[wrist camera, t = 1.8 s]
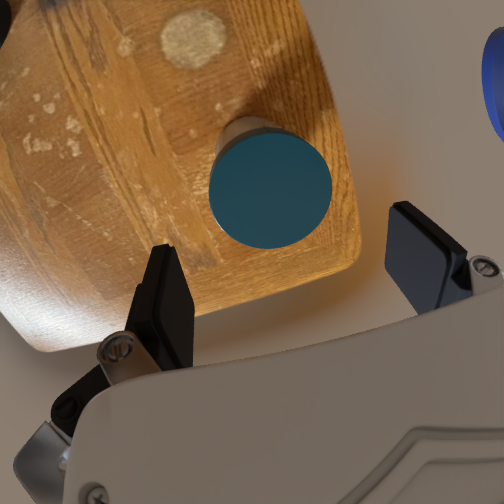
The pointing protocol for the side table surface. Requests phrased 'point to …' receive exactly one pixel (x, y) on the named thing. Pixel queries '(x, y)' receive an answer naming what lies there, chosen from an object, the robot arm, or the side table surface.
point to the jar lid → (269, 188)
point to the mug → (4, 20)
